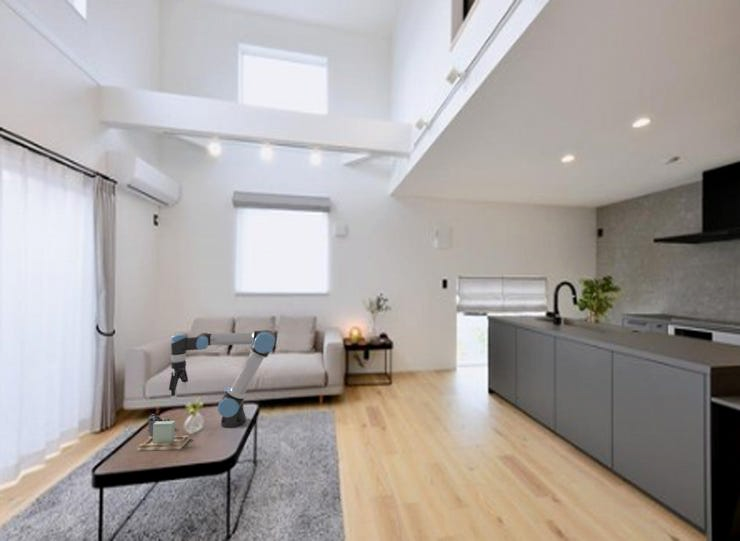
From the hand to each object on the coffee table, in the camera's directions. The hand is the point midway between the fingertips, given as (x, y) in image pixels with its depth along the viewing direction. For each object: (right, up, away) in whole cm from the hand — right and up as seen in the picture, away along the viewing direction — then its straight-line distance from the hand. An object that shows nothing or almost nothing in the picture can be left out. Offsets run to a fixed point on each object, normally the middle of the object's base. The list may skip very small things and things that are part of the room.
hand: (179, 397), depth 194 cm
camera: (-15, -23, +5) cm, 28 cm away
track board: (-2, -23, -11) cm, 25 cm away
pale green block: (-2, -21, -11) cm, 24 cm away
